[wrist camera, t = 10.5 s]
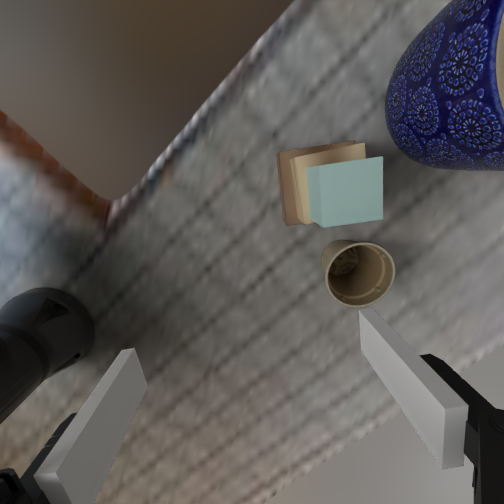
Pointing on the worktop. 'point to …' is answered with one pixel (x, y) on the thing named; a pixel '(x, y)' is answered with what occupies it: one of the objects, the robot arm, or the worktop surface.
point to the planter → (452, 90)
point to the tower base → (286, 178)
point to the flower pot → (357, 272)
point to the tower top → (317, 159)
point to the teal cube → (346, 192)
